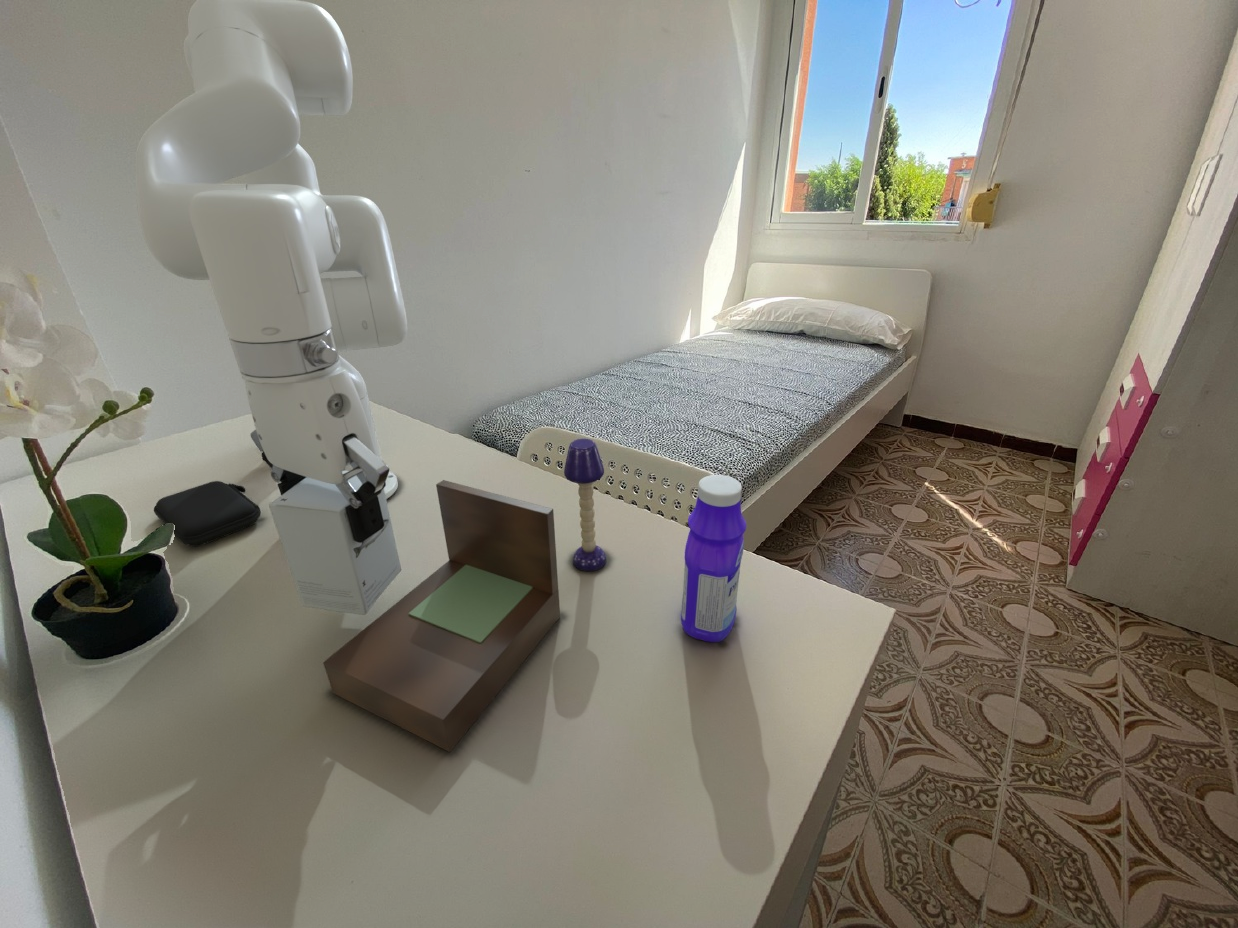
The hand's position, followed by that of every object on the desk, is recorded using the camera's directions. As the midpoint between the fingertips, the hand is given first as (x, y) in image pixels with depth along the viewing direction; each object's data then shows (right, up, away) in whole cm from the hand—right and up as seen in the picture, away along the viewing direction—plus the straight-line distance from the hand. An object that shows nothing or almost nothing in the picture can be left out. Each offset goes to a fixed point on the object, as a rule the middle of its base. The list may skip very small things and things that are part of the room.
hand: (336, 522), depth 54 cm
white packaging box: (0, -8, +4) cm, 9 cm away
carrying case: (-30, -2, +24) cm, 38 cm away
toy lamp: (+24, -7, +15) cm, 29 cm away
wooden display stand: (+12, -13, +1) cm, 18 cm away
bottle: (+38, -12, +5) cm, 40 cm away
